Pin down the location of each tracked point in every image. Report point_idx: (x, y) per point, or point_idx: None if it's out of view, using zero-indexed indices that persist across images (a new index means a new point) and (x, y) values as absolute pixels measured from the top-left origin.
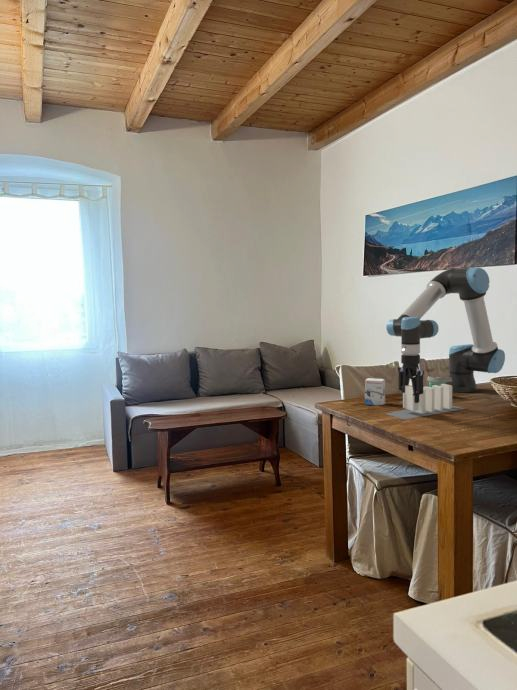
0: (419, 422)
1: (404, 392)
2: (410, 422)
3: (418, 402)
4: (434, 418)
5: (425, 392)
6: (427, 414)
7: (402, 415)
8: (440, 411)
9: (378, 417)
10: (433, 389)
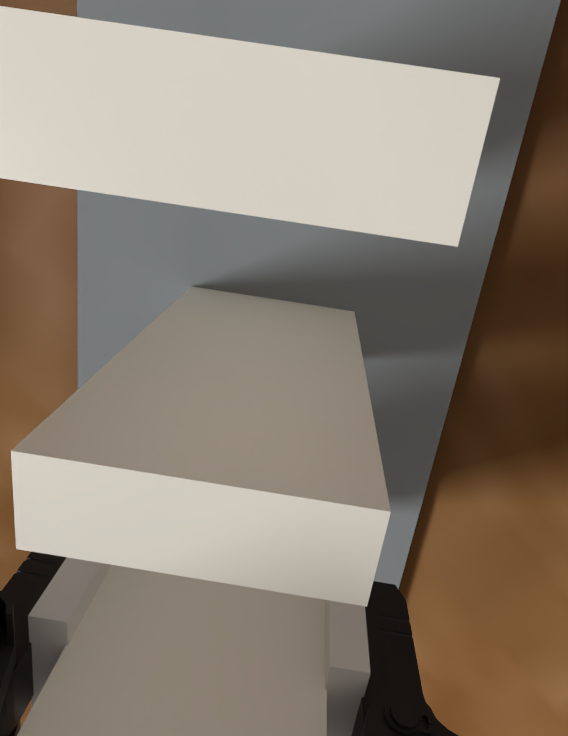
0: (520, 617)
1: (33, 690)
2: (452, 664)
3: (395, 596)
4: (559, 390)
5: (380, 463)
6: (424, 359)
7: None
8: (462, 60)
9: None
10: (469, 144)
